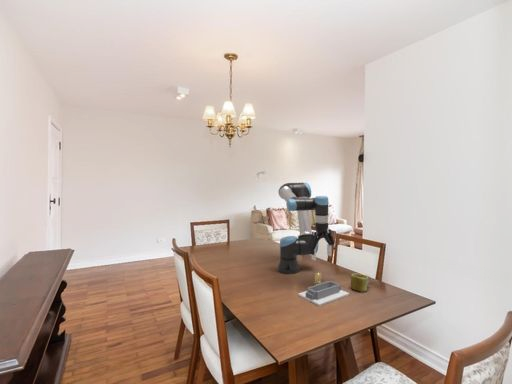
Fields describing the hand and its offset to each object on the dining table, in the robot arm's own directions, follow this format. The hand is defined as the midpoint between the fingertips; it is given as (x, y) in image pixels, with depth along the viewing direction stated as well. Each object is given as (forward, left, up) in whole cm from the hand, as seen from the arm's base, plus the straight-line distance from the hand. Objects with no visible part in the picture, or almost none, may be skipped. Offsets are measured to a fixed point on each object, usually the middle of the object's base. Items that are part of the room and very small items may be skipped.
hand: (321, 257), depth 165 cm
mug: (+16, +16, -17) cm, 28 cm away
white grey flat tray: (+10, -9, -17) cm, 22 cm away
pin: (-1, -2, -17) cm, 17 cm away
